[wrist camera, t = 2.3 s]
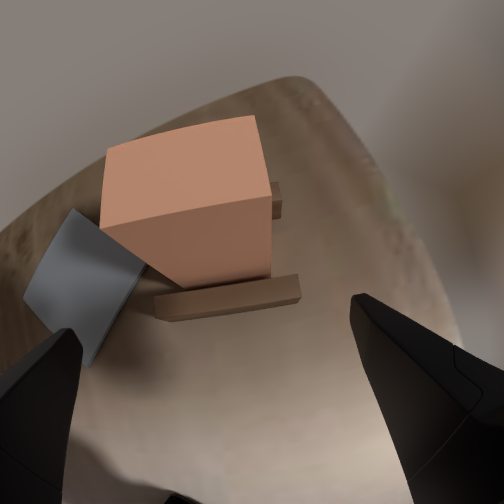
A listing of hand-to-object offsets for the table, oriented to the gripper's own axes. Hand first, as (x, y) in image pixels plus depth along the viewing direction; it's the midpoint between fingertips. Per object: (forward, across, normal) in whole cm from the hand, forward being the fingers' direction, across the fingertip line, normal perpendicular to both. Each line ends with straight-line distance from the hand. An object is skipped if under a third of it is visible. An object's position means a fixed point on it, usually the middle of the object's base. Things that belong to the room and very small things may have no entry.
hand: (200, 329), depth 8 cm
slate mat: (+12, +13, +5) cm, 18 cm away
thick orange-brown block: (+12, 0, +4) cm, 13 cm away
